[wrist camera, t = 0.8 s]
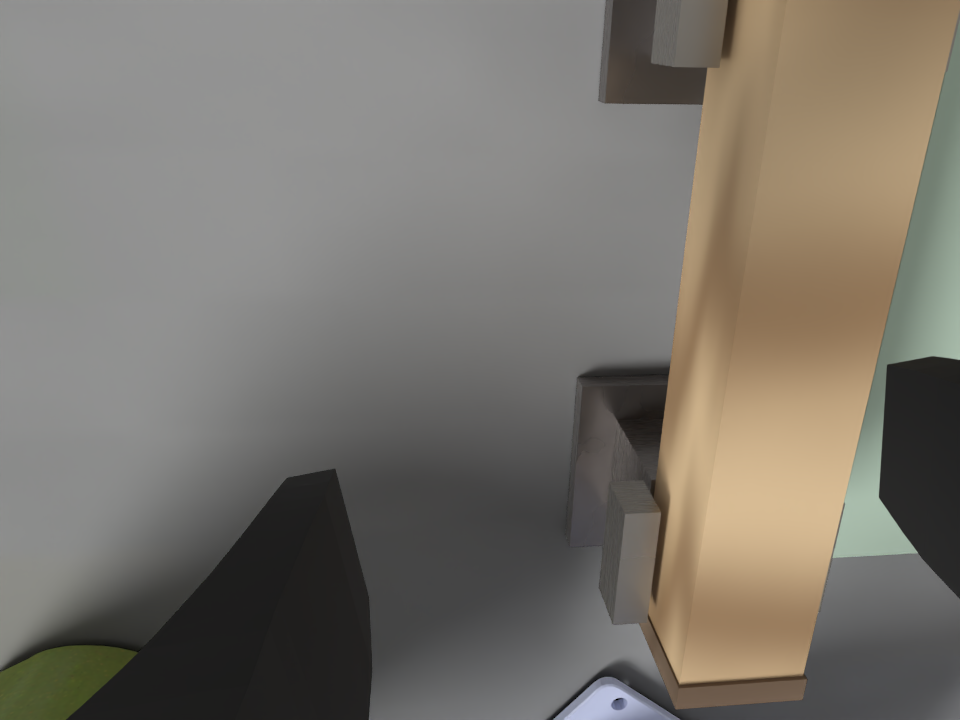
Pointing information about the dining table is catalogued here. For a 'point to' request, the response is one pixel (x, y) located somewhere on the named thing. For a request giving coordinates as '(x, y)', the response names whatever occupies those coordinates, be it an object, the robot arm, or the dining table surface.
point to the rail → (782, 326)
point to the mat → (912, 320)
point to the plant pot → (58, 681)
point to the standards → (641, 399)
